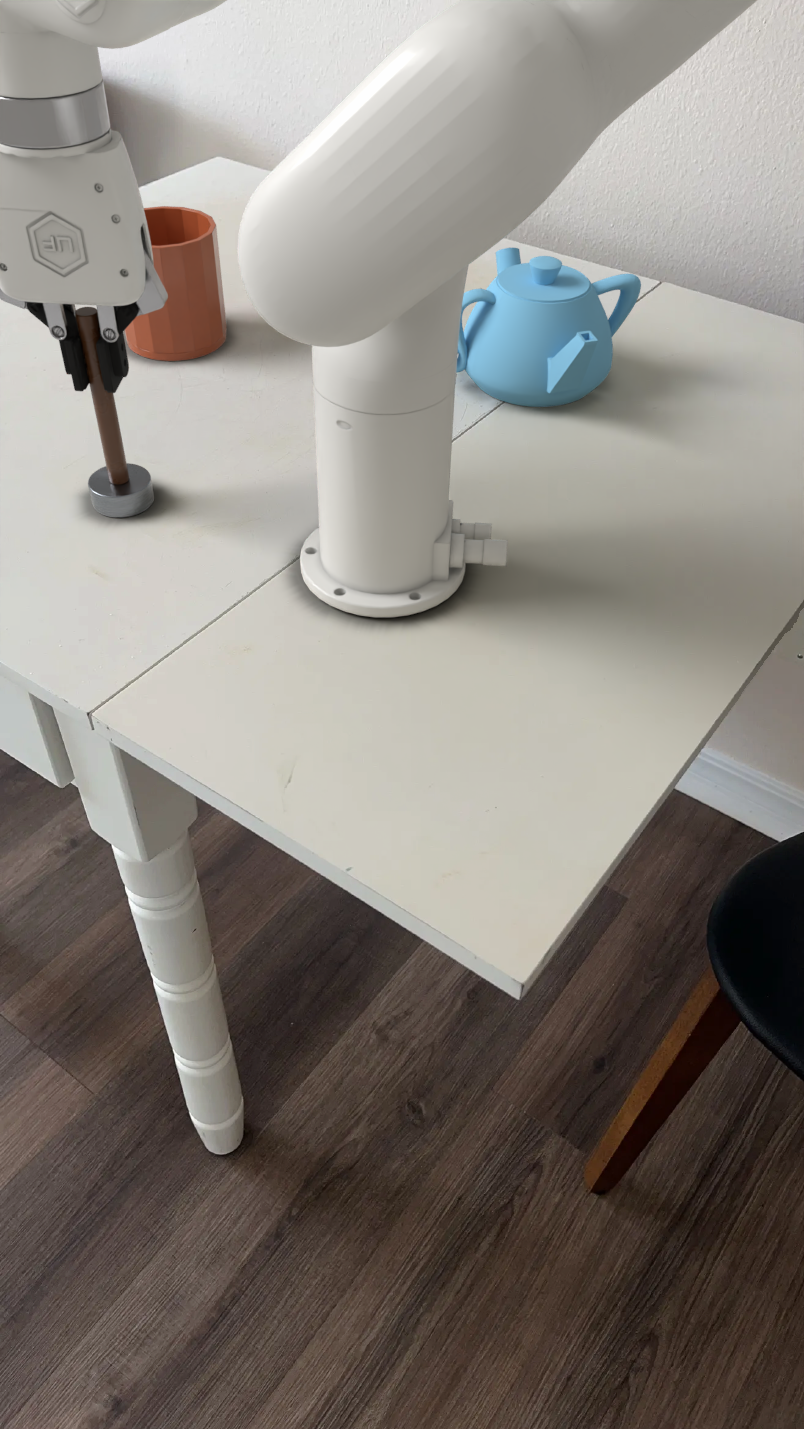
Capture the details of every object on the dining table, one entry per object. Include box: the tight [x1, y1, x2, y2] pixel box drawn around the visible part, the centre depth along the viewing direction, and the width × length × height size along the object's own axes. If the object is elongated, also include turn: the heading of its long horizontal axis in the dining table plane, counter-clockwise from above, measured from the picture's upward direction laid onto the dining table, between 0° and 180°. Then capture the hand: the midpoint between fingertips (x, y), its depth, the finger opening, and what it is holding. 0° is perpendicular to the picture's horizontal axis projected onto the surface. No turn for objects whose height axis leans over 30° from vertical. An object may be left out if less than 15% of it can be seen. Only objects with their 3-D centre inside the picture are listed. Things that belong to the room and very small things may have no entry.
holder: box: [123, 205, 228, 362], centre depth 105 cm, size 10×10×11 cm
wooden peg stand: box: [75, 306, 155, 518], centre depth 83 cm, size 5×5×16 cm
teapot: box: [456, 247, 642, 408], centre depth 101 cm, size 15×17×11 cm
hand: (100, 381), depth 81 cm, fingers closed on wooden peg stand
